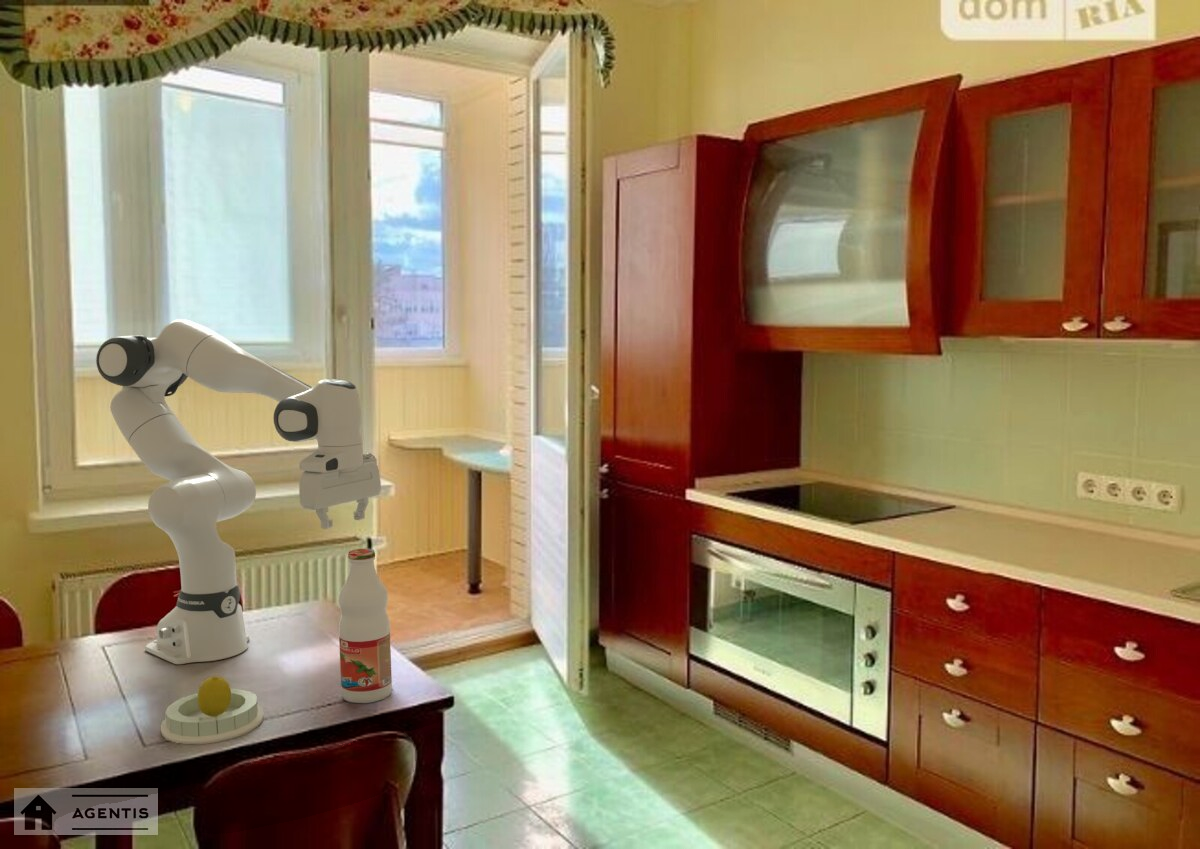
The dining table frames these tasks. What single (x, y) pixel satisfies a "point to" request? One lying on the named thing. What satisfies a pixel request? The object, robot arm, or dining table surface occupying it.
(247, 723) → the ceramic dish
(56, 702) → the dining table surface
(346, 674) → the fruit juice
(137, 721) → the dining table surface
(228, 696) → the lemon
